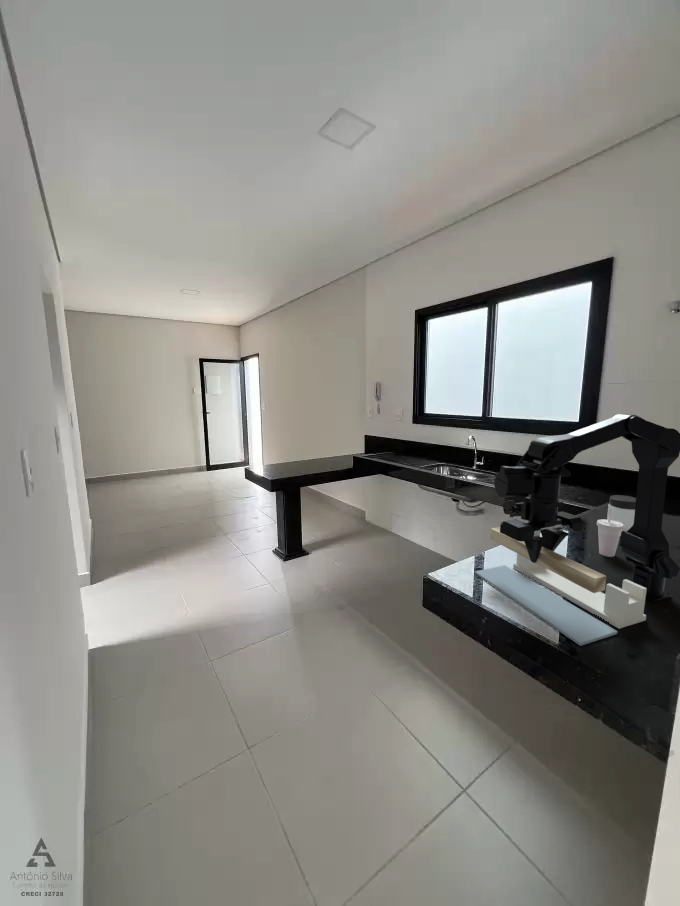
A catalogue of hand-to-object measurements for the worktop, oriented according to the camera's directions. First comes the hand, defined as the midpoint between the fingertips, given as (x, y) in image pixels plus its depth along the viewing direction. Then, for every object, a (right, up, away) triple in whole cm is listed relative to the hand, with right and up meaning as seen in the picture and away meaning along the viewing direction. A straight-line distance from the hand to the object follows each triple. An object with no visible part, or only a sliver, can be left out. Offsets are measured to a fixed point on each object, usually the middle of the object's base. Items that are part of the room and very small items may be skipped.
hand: (538, 561), depth 84 cm
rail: (0, 0, 0) cm, 0 cm away
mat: (0, -9, +2) cm, 10 cm away
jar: (+50, -2, +40) cm, 64 cm away
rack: (+10, -9, +5) cm, 15 cm away
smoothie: (+33, -5, +24) cm, 42 cm away
